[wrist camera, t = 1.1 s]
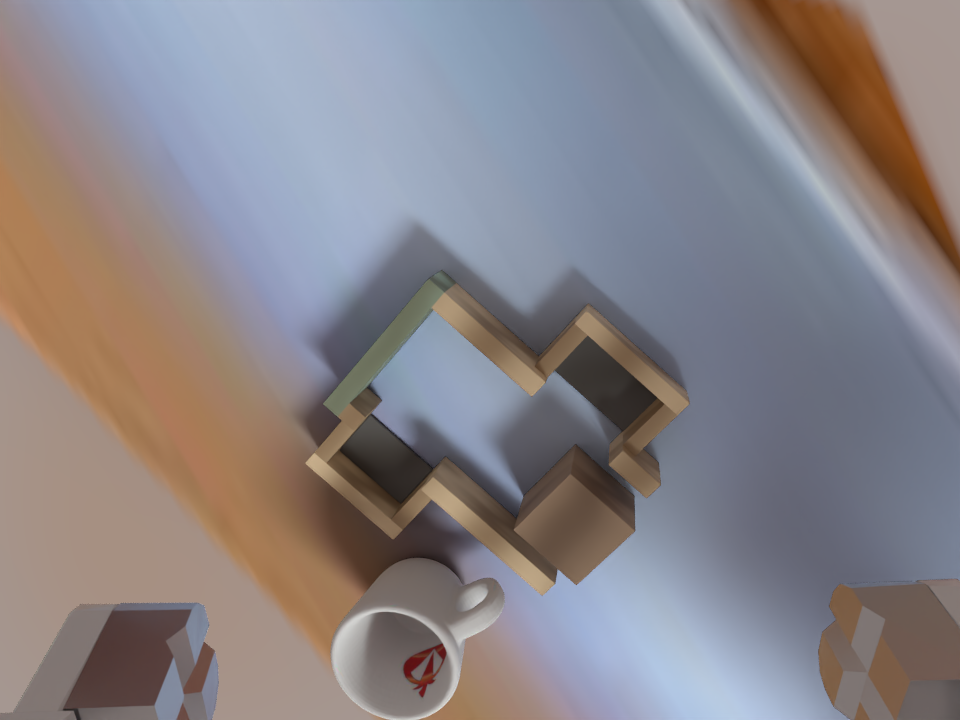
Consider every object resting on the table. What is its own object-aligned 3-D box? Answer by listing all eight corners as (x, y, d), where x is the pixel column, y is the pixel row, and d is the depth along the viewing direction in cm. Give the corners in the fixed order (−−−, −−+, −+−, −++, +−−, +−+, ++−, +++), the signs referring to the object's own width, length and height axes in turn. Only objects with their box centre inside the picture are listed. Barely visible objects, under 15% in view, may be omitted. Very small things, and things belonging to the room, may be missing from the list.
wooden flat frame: (711, 413, 49) (717, 432, 45) (503, 609, 54) (495, 639, 51) (489, 214, 48) (478, 218, 45) (302, 434, 54) (281, 453, 50)
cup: (484, 508, 53) (460, 569, 45) (539, 609, 54) (525, 684, 46) (348, 566, 56) (305, 631, 48) (403, 660, 57) (369, 739, 49)
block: (634, 495, 51) (635, 531, 46) (580, 545, 52) (576, 585, 48) (575, 443, 51) (570, 473, 46) (523, 495, 52) (513, 530, 47)
